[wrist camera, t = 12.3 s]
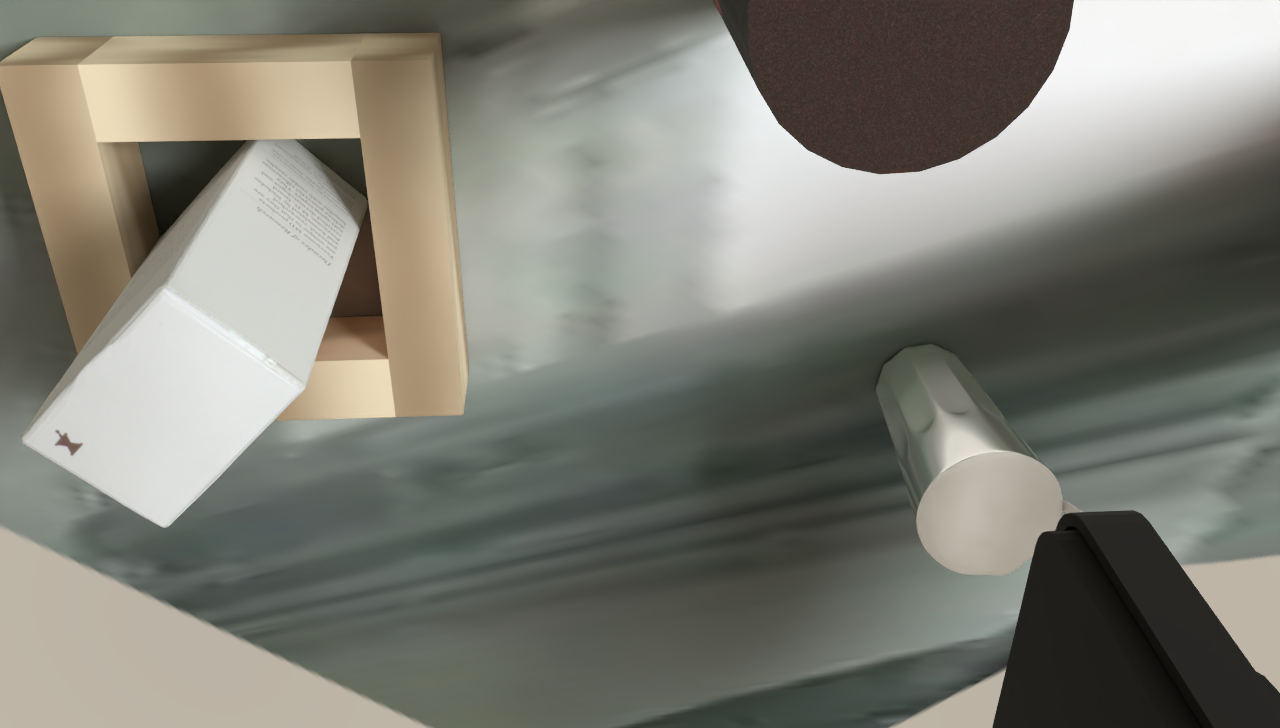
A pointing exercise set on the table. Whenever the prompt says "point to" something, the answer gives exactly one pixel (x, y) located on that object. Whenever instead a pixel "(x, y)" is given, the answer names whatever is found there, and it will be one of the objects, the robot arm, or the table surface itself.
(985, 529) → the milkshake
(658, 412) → the table surface
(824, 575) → the table surface
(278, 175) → the skincare box
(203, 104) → the holder
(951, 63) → the deodorant
